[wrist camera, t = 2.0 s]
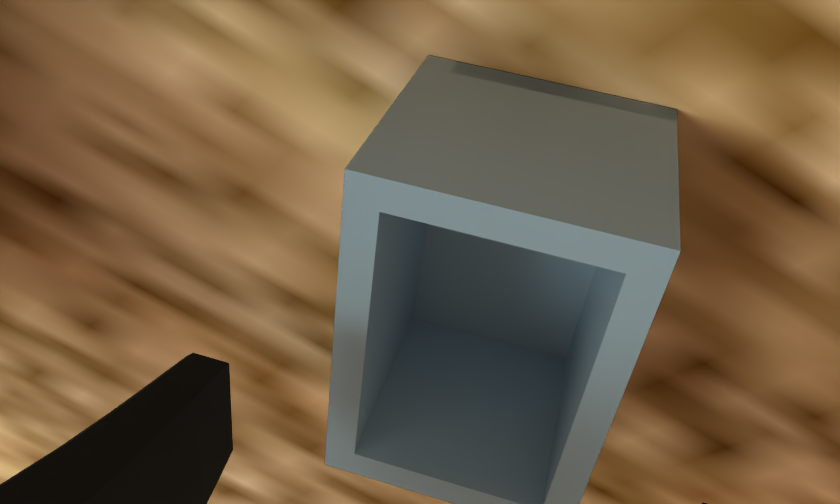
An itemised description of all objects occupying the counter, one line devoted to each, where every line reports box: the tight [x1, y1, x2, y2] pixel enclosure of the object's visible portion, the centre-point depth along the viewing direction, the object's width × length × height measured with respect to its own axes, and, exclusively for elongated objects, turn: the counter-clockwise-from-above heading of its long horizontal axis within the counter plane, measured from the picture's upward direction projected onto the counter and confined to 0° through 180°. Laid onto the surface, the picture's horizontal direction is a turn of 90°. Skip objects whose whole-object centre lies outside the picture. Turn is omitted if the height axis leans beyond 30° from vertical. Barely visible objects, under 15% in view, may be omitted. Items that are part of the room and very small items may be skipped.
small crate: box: [325, 55, 681, 504], centre depth 15 cm, size 7×5×5 cm
